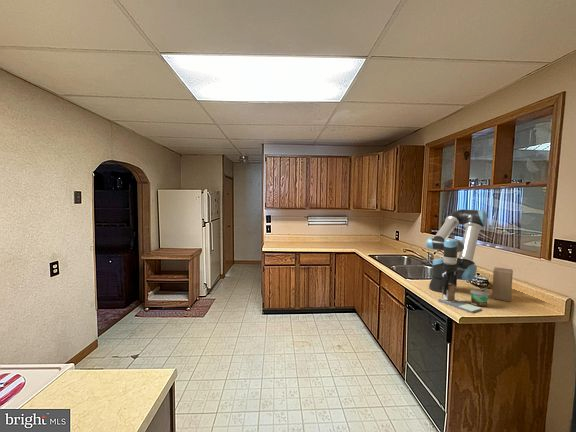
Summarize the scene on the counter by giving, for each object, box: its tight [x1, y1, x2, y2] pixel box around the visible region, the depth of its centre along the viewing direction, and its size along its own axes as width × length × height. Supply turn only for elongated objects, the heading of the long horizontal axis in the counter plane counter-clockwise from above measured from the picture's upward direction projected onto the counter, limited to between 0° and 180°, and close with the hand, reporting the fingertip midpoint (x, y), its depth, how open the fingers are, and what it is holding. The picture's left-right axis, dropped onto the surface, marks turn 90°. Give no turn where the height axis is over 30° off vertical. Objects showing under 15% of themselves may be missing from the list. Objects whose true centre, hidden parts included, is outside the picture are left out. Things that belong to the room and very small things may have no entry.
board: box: [437, 298, 483, 314], centre depth 173 cm, size 21×10×1 cm, turn 27°
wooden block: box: [491, 266, 513, 303], centre depth 187 cm, size 10×10×20 cm
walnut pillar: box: [441, 283, 456, 301], centre depth 179 cm, size 5×5×10 cm
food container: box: [469, 287, 491, 308], centre depth 173 cm, size 12×6×10 cm, turn 106°
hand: (448, 298), depth 180 cm, fingers closed on walnut pillar, 5 cm apart
